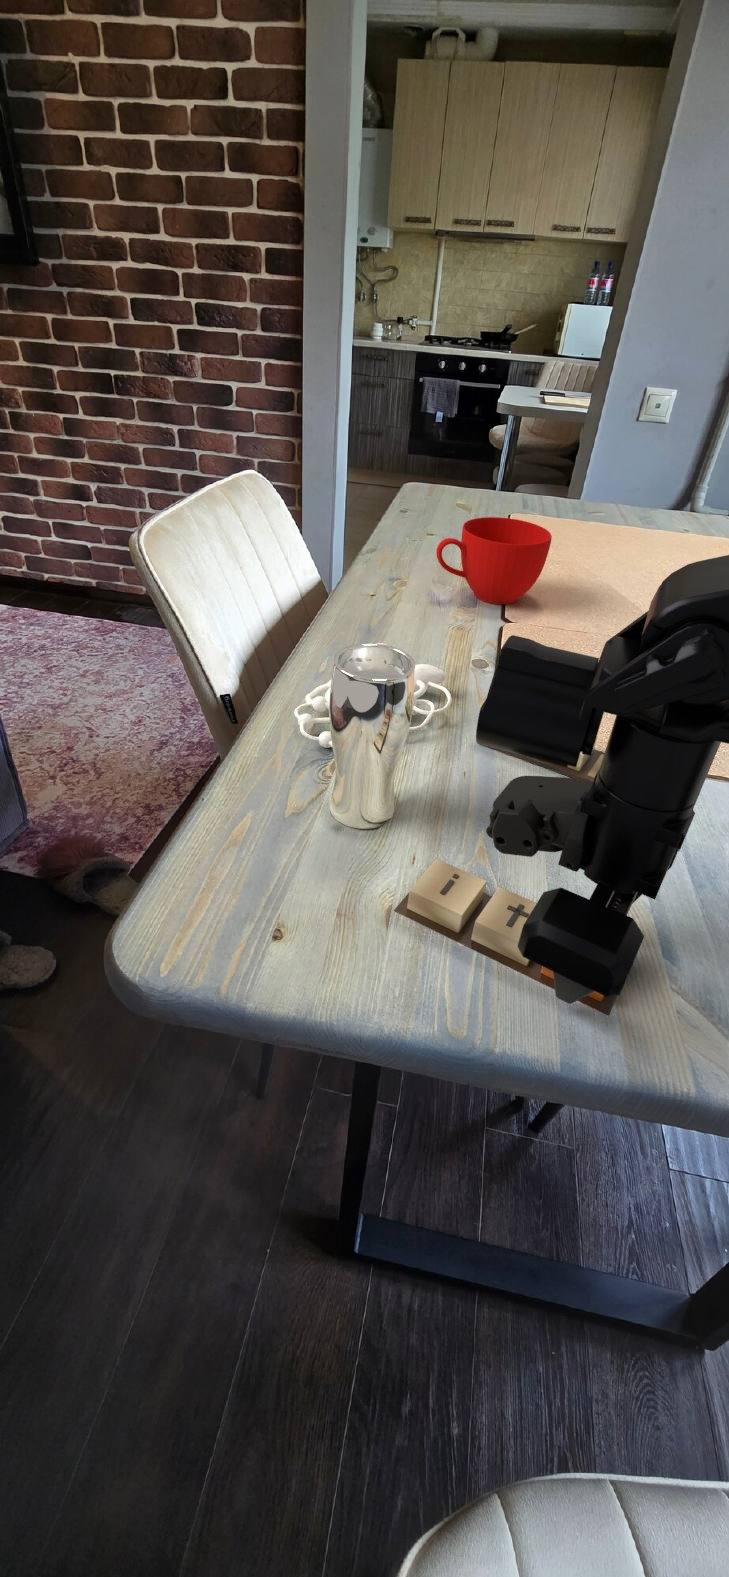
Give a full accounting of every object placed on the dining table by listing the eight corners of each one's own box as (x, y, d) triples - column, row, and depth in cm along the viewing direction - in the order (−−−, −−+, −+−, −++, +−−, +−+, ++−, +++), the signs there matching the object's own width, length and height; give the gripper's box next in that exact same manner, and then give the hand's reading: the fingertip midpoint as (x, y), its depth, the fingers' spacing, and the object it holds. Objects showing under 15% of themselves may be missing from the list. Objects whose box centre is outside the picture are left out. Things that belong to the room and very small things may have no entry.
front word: (630, 963, 55) (640, 939, 53) (606, 1019, 51) (616, 995, 49) (428, 872, 61) (432, 848, 60) (392, 914, 57) (395, 890, 56)
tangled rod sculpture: (370, 785, 73) (375, 752, 70) (261, 723, 78) (262, 691, 76) (467, 707, 85) (475, 677, 83) (367, 659, 91) (371, 629, 88)
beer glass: (402, 790, 70) (419, 646, 62) (397, 837, 65) (416, 686, 56) (330, 782, 71) (337, 638, 62) (319, 828, 65) (325, 676, 56)
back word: (653, 773, 76) (660, 752, 74) (637, 802, 72) (645, 780, 70) (501, 720, 82) (505, 700, 81) (478, 743, 78) (482, 722, 77)
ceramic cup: (418, 582, 115) (425, 517, 110) (517, 579, 119) (529, 516, 114) (445, 616, 105) (455, 546, 100) (552, 611, 109) (568, 544, 104)
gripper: (569, 683, 53) (526, 846, 63) (457, 810, 40) (424, 993, 49) (728, 733, 49) (658, 900, 58) (662, 894, 36) (584, 1077, 45)
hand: (583, 958), depth 53 cm, fingers open, 8 cm apart
